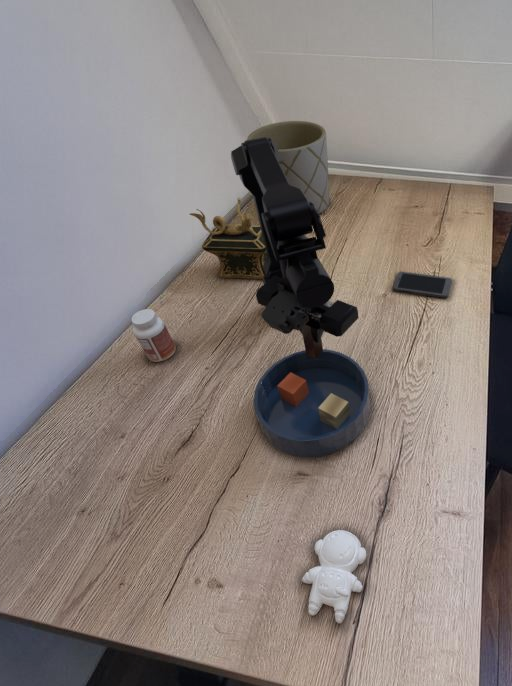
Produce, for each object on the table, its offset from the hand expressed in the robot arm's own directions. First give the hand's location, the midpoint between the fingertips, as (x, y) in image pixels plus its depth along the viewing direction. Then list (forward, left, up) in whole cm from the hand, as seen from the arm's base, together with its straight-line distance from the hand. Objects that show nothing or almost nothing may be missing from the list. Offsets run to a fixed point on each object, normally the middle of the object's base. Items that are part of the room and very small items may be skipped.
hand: (312, 338), depth 85 cm
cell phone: (+3, +38, -12) cm, 40 cm away
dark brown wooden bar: (0, 0, -4) cm, 4 cm away
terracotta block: (-2, -6, -12) cm, 13 cm away
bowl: (+3, -6, -12) cm, 14 cm away
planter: (-51, +54, -13) cm, 75 cm away
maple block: (+8, -6, -12) cm, 16 cm away
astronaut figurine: (+24, -28, -13) cm, 39 cm away
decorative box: (-43, +20, -13) cm, 49 cm away
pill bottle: (-36, -12, -13) cm, 40 cm away
